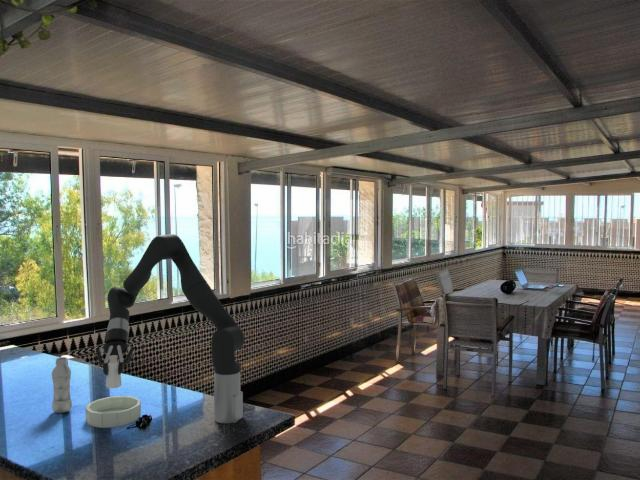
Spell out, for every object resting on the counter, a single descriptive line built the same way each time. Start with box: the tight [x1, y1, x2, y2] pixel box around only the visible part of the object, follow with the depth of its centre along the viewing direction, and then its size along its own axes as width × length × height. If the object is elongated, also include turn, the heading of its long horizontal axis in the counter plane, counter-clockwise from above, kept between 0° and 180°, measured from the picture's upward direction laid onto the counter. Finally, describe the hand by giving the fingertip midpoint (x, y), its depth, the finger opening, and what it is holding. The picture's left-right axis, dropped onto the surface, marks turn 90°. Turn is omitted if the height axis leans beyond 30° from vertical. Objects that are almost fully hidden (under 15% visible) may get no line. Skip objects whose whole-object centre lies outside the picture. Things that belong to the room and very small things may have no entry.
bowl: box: [85, 395, 142, 429], centre depth 191 cm, size 18×18×5 cm
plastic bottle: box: [51, 357, 73, 414], centre depth 197 cm, size 6×7×20 cm
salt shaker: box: [105, 355, 123, 389], centre depth 191 cm, size 5×5×11 cm
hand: (112, 373), depth 189 cm, fingers closed on salt shaker, 4 cm apart
